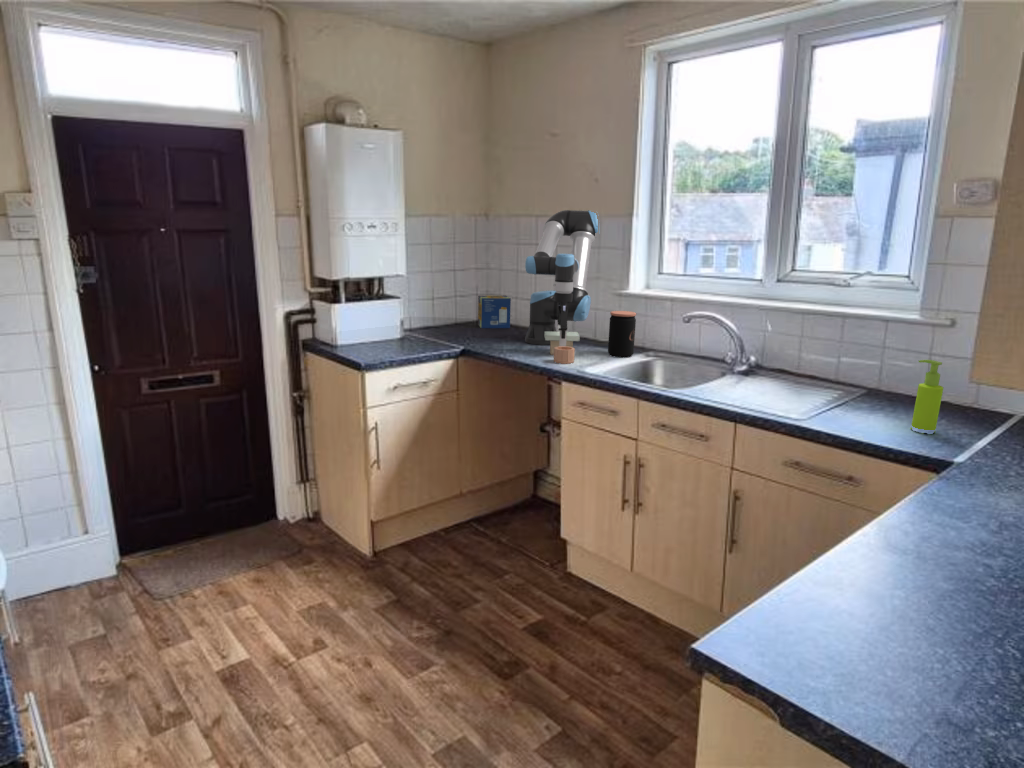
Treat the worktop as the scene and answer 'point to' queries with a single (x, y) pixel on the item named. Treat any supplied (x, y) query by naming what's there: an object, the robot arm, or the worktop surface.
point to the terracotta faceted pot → (564, 354)
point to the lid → (556, 336)
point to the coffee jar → (621, 333)
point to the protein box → (494, 311)
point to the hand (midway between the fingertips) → (561, 343)
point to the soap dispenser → (928, 399)
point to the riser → (556, 344)
